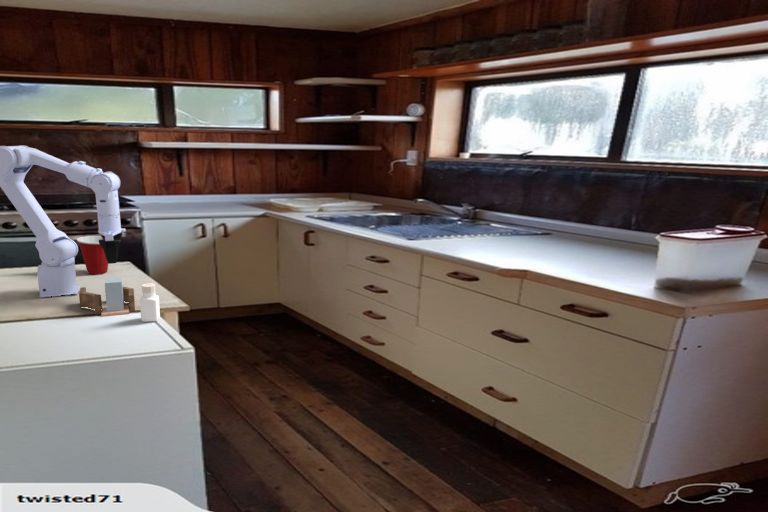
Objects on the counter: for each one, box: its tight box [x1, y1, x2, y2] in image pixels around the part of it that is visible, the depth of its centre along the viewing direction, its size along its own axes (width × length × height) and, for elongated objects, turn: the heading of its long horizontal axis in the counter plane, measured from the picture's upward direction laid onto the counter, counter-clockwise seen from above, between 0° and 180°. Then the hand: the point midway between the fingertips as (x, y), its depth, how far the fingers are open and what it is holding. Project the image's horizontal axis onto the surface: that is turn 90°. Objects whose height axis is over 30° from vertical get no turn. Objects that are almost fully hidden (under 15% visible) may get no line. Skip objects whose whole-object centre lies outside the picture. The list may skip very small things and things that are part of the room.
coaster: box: [100, 304, 130, 317], centre depth 139 cm, size 7×6×1 cm
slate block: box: [104, 277, 125, 312], centre depth 139 cm, size 4×4×8 cm
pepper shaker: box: [139, 282, 161, 323], centre depth 133 cm, size 4×4×10 cm
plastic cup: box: [76, 235, 109, 276], centre depth 173 cm, size 11×11×12 cm
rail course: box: [78, 286, 136, 315], centre depth 142 cm, size 13×12×4 cm
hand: (112, 260), depth 151 cm, fingers open, 7 cm apart
